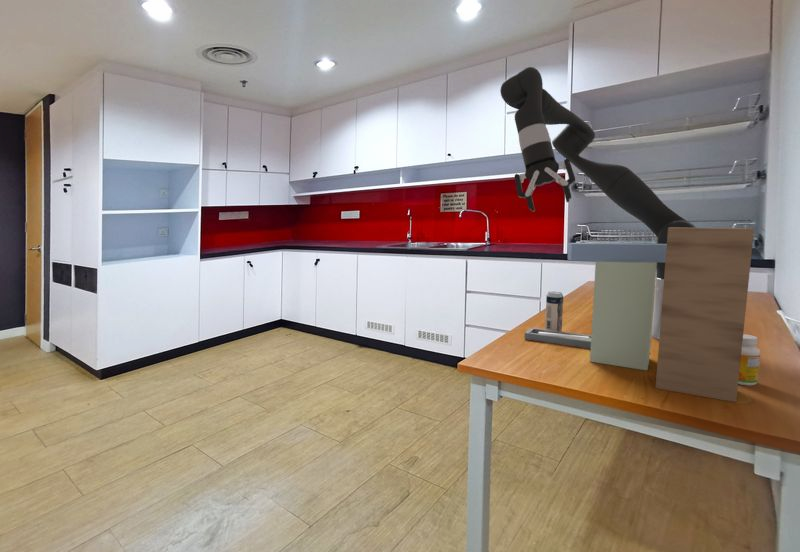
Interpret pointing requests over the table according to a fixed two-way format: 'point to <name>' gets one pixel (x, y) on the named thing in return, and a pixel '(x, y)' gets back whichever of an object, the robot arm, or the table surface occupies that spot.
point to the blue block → (617, 252)
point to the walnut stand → (704, 310)
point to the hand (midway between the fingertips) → (550, 206)
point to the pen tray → (557, 338)
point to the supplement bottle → (749, 361)
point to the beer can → (554, 311)
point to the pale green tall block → (623, 313)
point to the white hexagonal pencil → (567, 336)
